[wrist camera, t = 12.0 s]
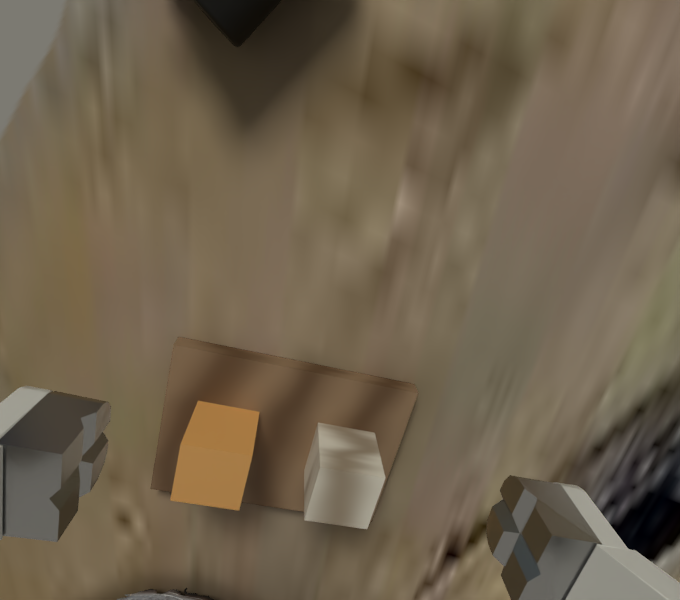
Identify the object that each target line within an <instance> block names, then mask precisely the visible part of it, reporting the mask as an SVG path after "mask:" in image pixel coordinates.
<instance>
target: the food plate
mask: <svg viewBox="0 0 680 600" xmlns="http://www.w3.org/2000/svg"><path fill="white" fill-rule="evenodd" d="M186 590H187V588H186V589H185V591H184V593H185V596H182V595H181V594H180V593H181V592H180V591H177V590H174V589H173V590H169V591H167V592H165V593H163V594H158V593H157V592H156V590H153V589H149V590H145V591H140V592H138V593H135V594H129V595H130V596H129V597H128V595H126V596H127V597H125V598H120V599H118V600H213V599H212V598H210V597H209V596H199V595H197V594H196V593H195V594H192V593H191V594H190V593H188V594H187V592H186Z"/></svg>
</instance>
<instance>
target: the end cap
mask: <svg viewBox="0 0 680 600" xmlns="http://www.w3.org/2000/svg"><path fill="white" fill-rule="evenodd" d="M194 1H195V2H196V3H197V5H198V6H199V7H200V8H201V10H202V11H203V12H204V13H205V15H206V16H207V17H208V18H209V19H210V20H211V21H212V22H213V24H214V25H215V26H216V27H217V28H218V29H219V30H220V31H221V32H222V33H223V34H224V36H225V37H226V38H227V39H228V40H229V41H230V42H231V43H232V44H233V45H234V46H236V47H239V46H241V45H242V44H243V42H244V41H245V40H246V39H247V38H248V37H249V36H250V35H251V34H252V32H253V31H254V30H255V29H256V28H257V27H258V26H259V25H260V24H261V23H262V21H263V20H264V19H265V18H266V17H267V16H268V15H269V14H270V13H271V11H272V10H273V9H274V8H275V7H276V6H277V5H278V4H279V3H280V2H281V0H194Z"/></svg>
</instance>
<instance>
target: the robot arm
mask: <svg viewBox="0 0 680 600" xmlns="http://www.w3.org/2000/svg"><path fill="white" fill-rule="evenodd" d="M110 416H111V406H110V404H109V402H106V401H102V400H97V399H92V398H87V397H82V396H77V395H72V394H67V393H62V392H57V391H51V390H47V389H41V388H36V387H30V386H24V387H20V388H18V389H17V390H15V391H14V392H13V393H12V394H11V395H9V396H8V397H7V398H6V399H5V400H3V401H2V402H1V403H0V540H1V539H2V537H3V536H11V537H20V538H28V539H37V540H46V541H55V542H58V540H59V539H60V537H61V536H62V534H63V533H64V531H65V529H66V528H67V526H68V525H69V523H70V522H71V520H72V519H73V517H74V516H75V514H76V513H77V511H78V502H79V497H81V496H83V495H85V494H86V493H88V492H90V491H91V489H92V488H93V486H94V484H95V483H96V481H97V480H98V477H99V475H100V473H101V470H102V468H103V465H104V462H105V458H106V454H107V448H108V439H107V438H106V436H105V435H104V433H103V430H104V429H105V428H106V426H107V425H108V424H109V422H110ZM500 492H501V495H502V498H503V500H501V501H500V502H498V503H497V504H495V505H494V506H493V507H492V509H491V511H490V514H489V516H488V519H487V531H486V534H487V539H488V544H489V547H490V550H491V552H492V555H493V556H494V557H495V558H496V559H497V560H498V561H499V562H500V563H501V564H502V565H503V566H504V567H503V570H502V573H501V577H502V579H503V581H504V584H505V586H506V588H507V591H508V593H509V596H510V598H511V600H680V583H679V582H678V581H677V580H675V579H674V578H672V577H671V576H670V575H668V574H667V573H666V572H664V571H663V570H661V569H660V568H659V567H657V566H656V565H655V564H653V563H652V562H651V561H649V560H648V559H646V558H645V557H644V556H642V555H641V554H640V553H638V552H637V551H635V550H629V549H628V548H627V547H626V545H625V544H624V543H623V541H622V540H621V539H620V537H619V536H618V535H617V533H616V532H615V531H614V529H613V528H612V527H611V525H610V524H609V523H608V521H607V520H606V519H605V517H604V516H603V515H602V513H601V512H600V511H599V509H598V508H597V507H596V505H595V504H594V503H593V501H592V500H591V499H590V497H589V496H588V495H587V493H586V492H585V491H584V490H583V489H581V488H580V487H578V486H576V485H569V484H563V483H556V482H555V483H551V482H545V481H540V480H534V479H528V478H522V477H517V476H511V475H510V476H509V477H508V478H507V479H506V480H505V481H504V483H503V485H502V487H501V489H500Z"/></svg>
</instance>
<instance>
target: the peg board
mask: <svg viewBox="0 0 680 600" xmlns="http://www.w3.org/2000/svg"><path fill="white" fill-rule="evenodd" d="M417 396H418V391H417V389H416V387H415V385H414V384H411V383H406V382H401V381H396V380H391V379H386V378H381V377H376V376H371V375H366V374H361V373H356V372H351V371H346V370H341V369H336V368H331V367H326V366H321V365H316V364H312V363H307V362H302V361H297V360H292V359H287V358H282V357H277V356H272V355H267V354H262V353H257V352H252V351H247V350H242V349H237V348H232V347H227V346H222V345H217V344H212V343H207V342H202V341H197V340H192V339H187V338H182V337H178V339H177V340H176V342H175V344H174V346H173V352H172V358H171V364H170V371H169V377H168V383H167V389H166V396H165V402H164V408H163V414H162V421H161V427H160V433H159V439H158V445H157V452H156V458H155V464H154V470H153V477H152V483H151V489H155V490H162V491H169V492H172V488H173V483H174V477H175V472H176V466H177V461H178V455H179V450H180V444H181V442H182V439H183V437H184V434H185V432H186V429H187V427H188V424H189V422H190V419H191V417H192V414H193V412H194V410H195V407H196V405H197V402H198V401H203V402H208V403H214V404H219V405H225V406H230V407H236V408H241V409H247V410H252V411H258V412H260V413H259V419H258V425H257V431H256V437H255V443H254V449H253V455H252V460H251V464H250V468H249V472H248V476H247V480H246V484H245V488H244V492H243V497H242V501H241V502H242V503H249V504H256V505H263V506H269V507H276V508H283V509H289V510H296V511H303V512H304V520H307V521H313V522H320V523H327V524H334V525H341V526H348V527H355V528H361V529H367V528H368V526H369V523H370V522H372V520H373V517H374V515H375V512H376V509H377V506H378V504H379V501H380V498H381V495H382V492H383V490H384V487H385V484H386V481H387V479H388V476H389V473H390V470H391V468H392V465H393V462H394V459H395V457H396V454H397V451H398V448H399V446H400V443H401V440H402V437H403V435H404V432H405V429H406V426H407V424H408V421H409V418H410V415H411V412H412V410H413V407H414V404H415V401H416V399H417Z"/></svg>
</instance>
